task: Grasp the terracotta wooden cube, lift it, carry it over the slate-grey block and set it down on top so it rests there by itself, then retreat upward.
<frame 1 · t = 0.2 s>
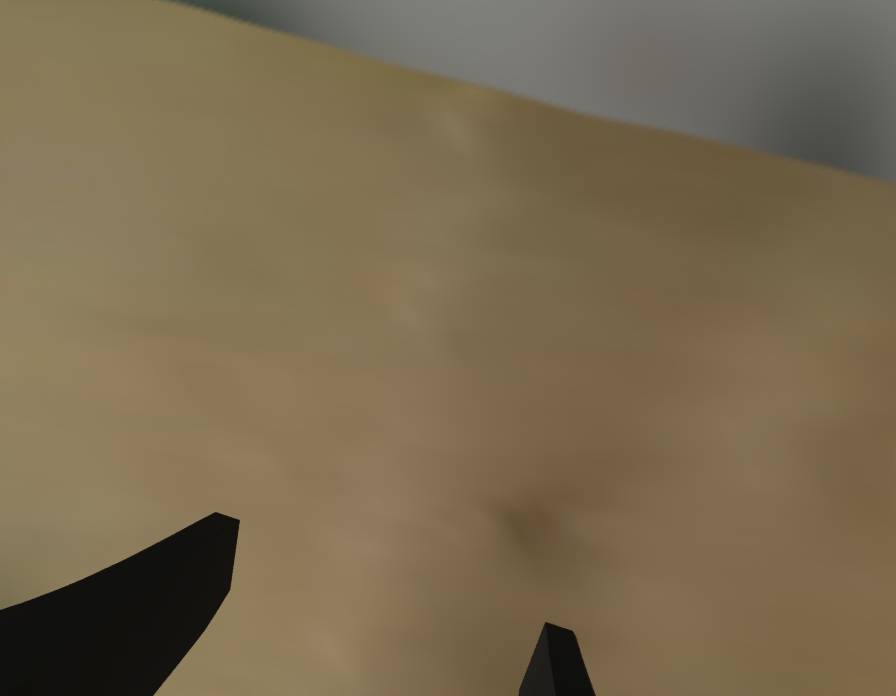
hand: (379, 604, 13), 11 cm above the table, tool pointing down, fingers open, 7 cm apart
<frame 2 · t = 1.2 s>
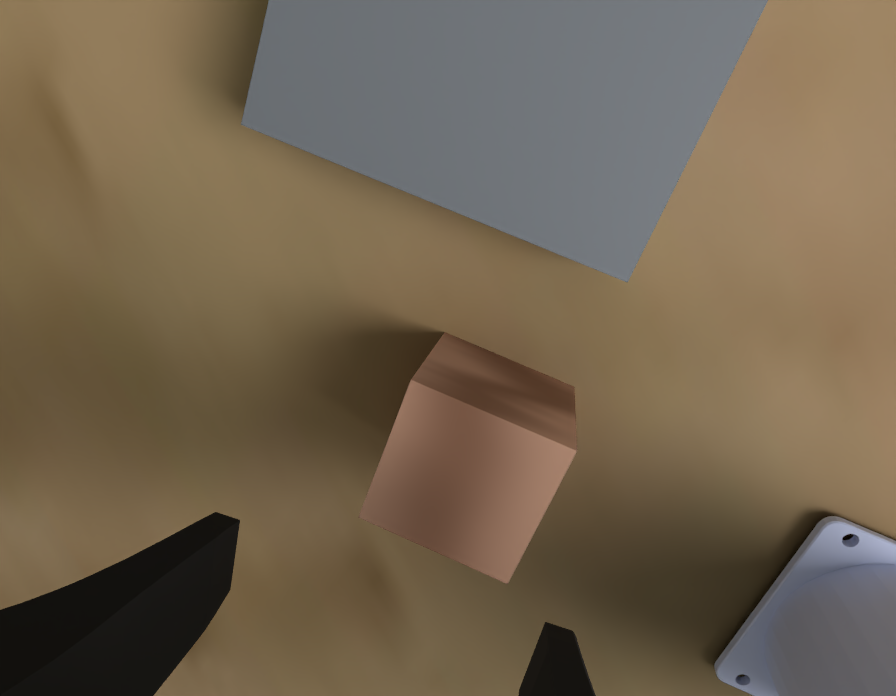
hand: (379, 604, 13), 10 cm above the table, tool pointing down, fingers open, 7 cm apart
slate block: (519, 2, 17), on the table
terracotta cube: (483, 416, 22), on the table
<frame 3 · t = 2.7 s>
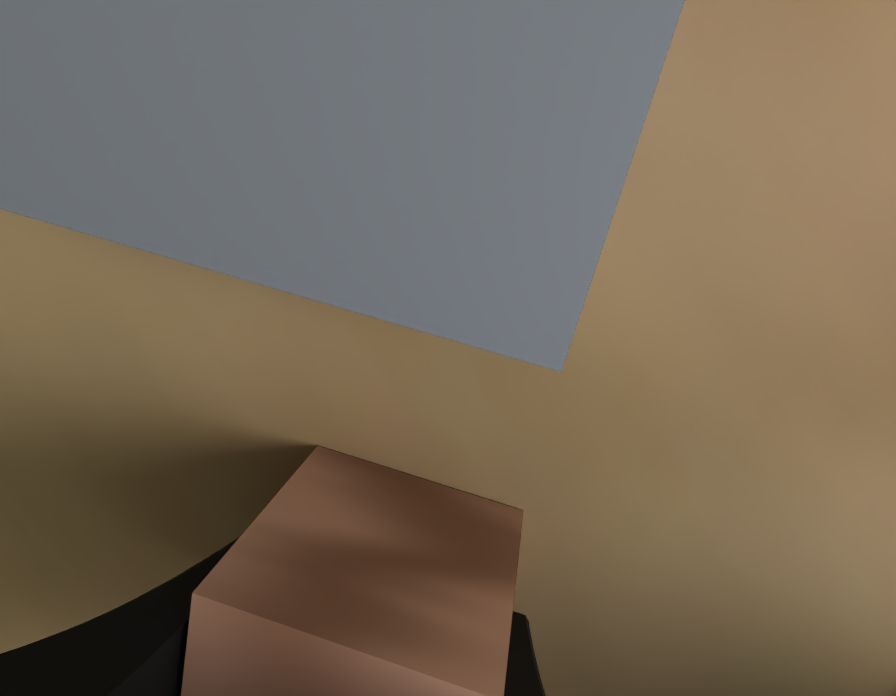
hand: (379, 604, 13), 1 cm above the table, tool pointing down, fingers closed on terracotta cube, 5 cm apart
terracotta cube: (396, 562, 14), on the table, touching gripper
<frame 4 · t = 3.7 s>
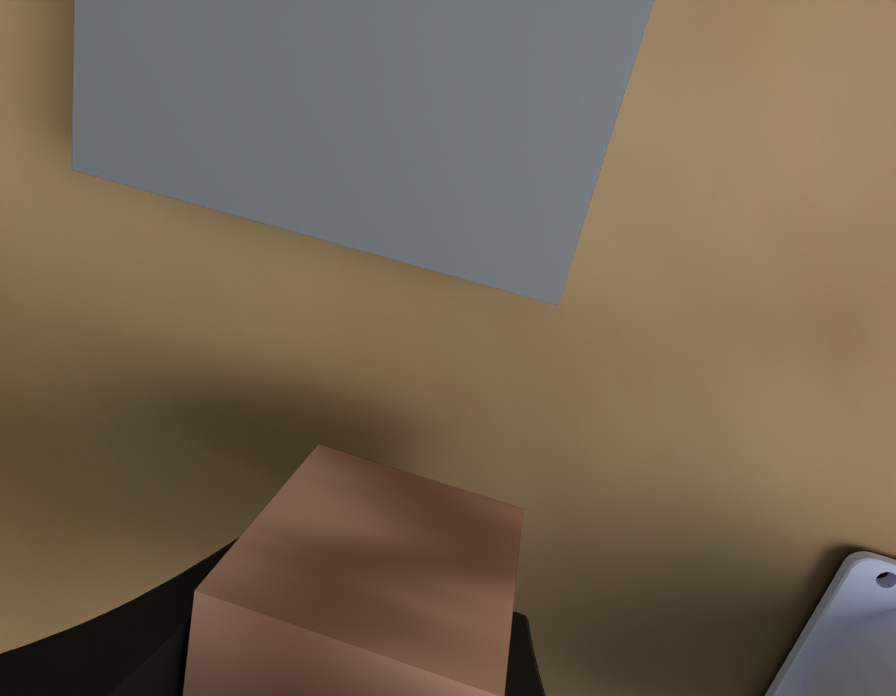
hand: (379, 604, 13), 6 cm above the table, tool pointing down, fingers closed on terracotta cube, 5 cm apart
terracotta cube: (397, 560, 14), point 4 cm above the table, touching gripper
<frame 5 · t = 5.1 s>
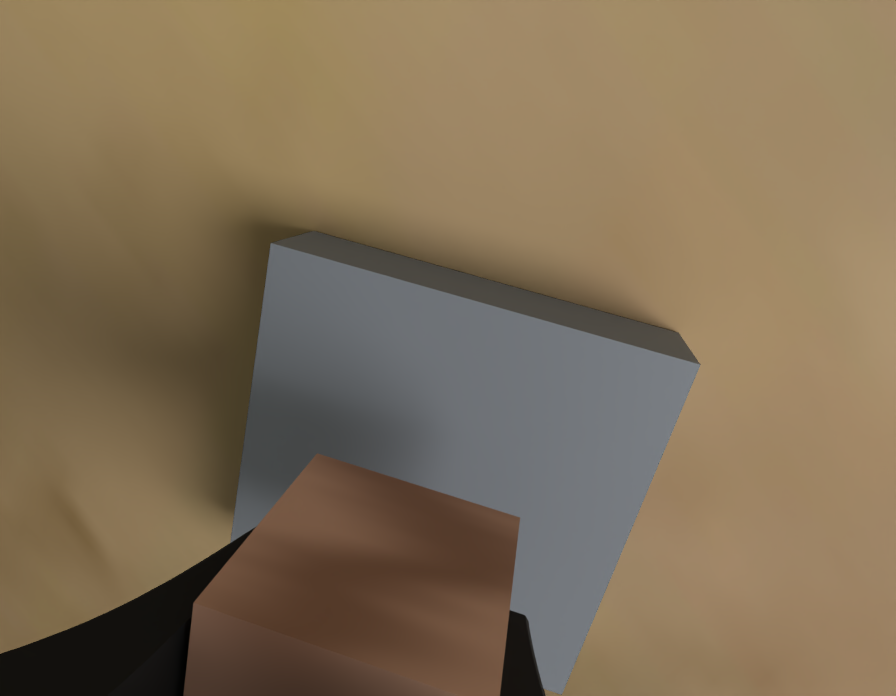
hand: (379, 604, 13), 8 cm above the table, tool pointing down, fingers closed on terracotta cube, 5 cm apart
slate block: (446, 442, 21), on the table
terracotta cube: (395, 568, 15), point 6 cm above the table, touching gripper
when the fingers open (6 cm above the table, at t = 5.9 s): terracotta cube drops 1 cm, resting on slate block.
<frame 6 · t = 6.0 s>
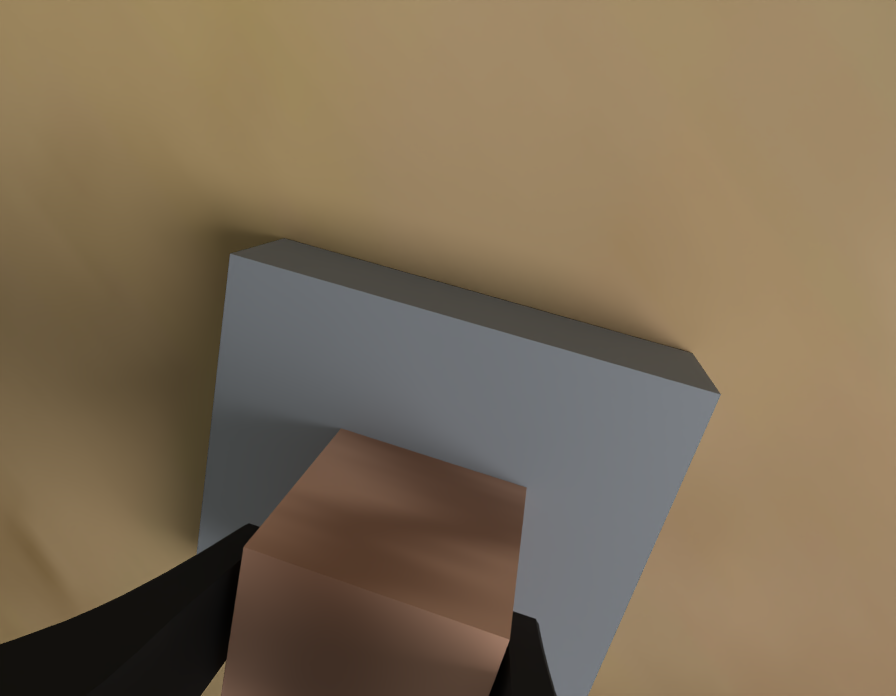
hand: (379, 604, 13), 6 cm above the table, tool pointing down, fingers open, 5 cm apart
slate block: (433, 472, 19), on the table
terracotta cube: (411, 534, 16), point 3 cm above the table, touching slate block
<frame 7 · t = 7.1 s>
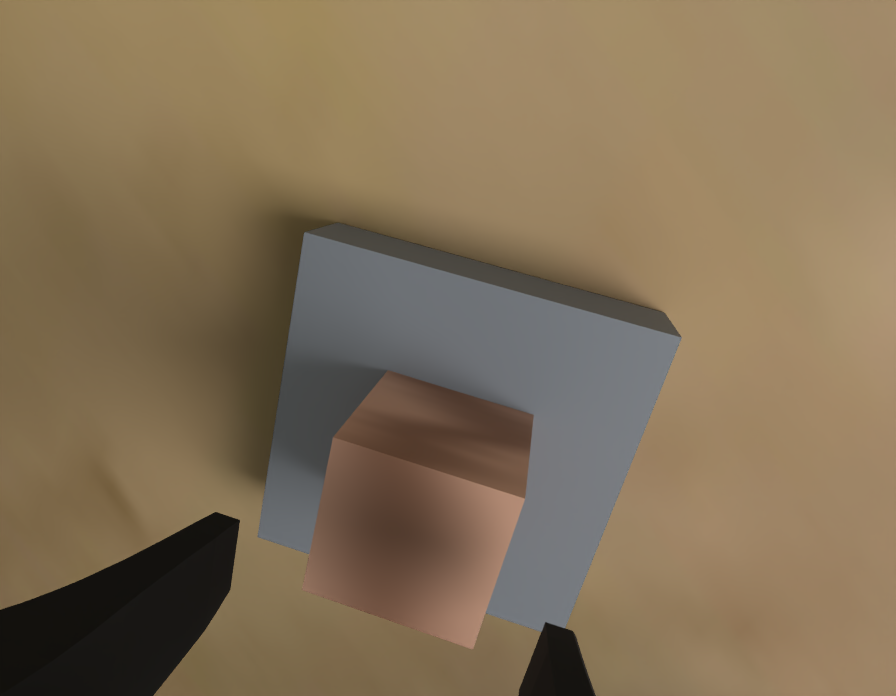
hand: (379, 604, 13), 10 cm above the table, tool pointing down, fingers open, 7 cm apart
slate block: (456, 414, 23), on the table
terracotta cube: (441, 456, 20), point 3 cm above the table, touching slate block
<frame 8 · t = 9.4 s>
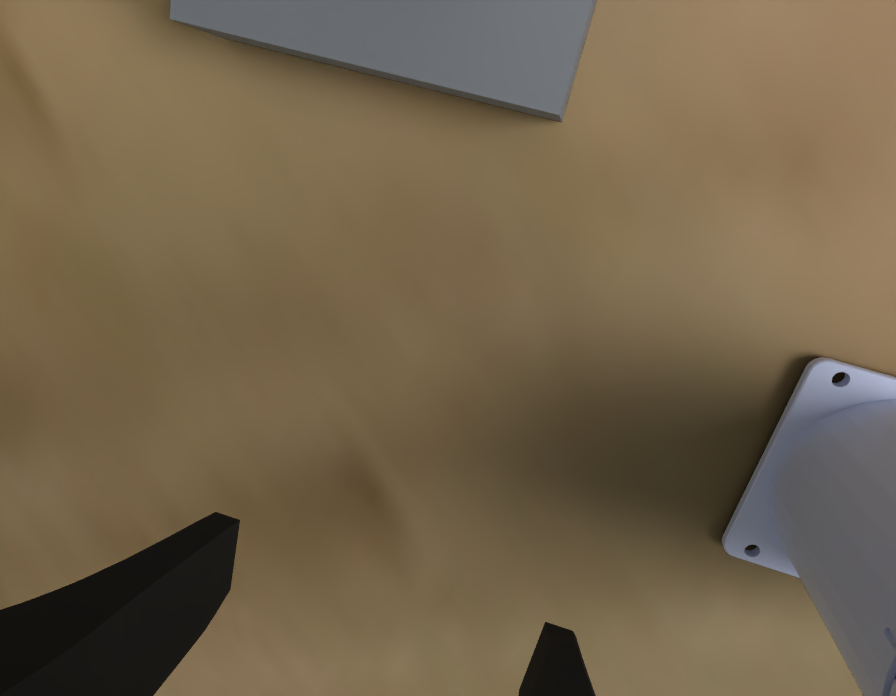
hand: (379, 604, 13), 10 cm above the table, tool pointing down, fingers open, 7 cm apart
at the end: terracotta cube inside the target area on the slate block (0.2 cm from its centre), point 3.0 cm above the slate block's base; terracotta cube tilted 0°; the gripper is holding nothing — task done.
